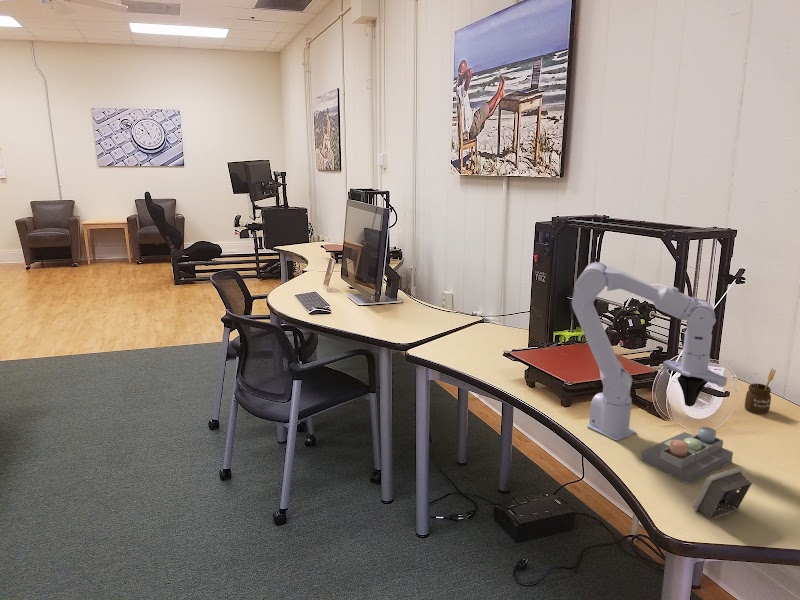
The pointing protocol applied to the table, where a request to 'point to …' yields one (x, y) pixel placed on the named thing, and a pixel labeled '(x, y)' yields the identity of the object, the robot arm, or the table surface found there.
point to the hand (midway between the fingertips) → (689, 404)
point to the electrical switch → (722, 493)
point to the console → (688, 459)
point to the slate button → (706, 435)
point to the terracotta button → (678, 448)
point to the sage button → (693, 444)
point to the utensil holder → (759, 396)
